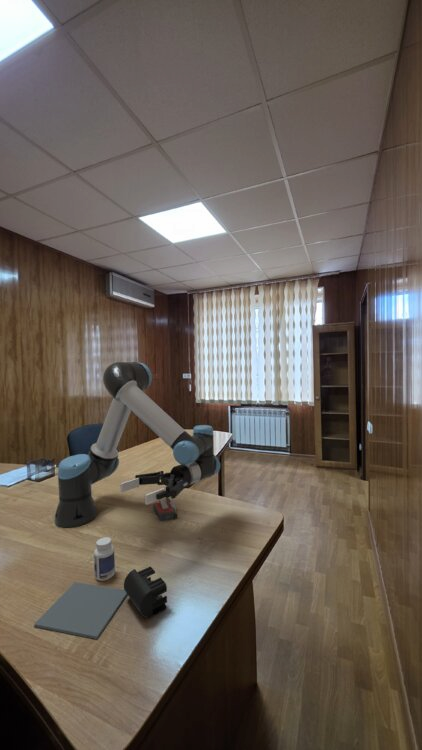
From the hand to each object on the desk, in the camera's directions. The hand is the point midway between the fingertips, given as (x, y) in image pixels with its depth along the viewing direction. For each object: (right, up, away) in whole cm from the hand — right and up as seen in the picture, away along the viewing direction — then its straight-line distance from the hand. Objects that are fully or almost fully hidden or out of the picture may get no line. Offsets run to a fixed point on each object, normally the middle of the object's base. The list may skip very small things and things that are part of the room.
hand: (132, 493), depth 94 cm
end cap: (+8, -21, -18) cm, 28 cm away
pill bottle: (-6, -21, -7) cm, 22 cm away
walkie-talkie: (+5, -20, +33) cm, 38 cm away
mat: (-7, -21, -19) cm, 29 cm away
